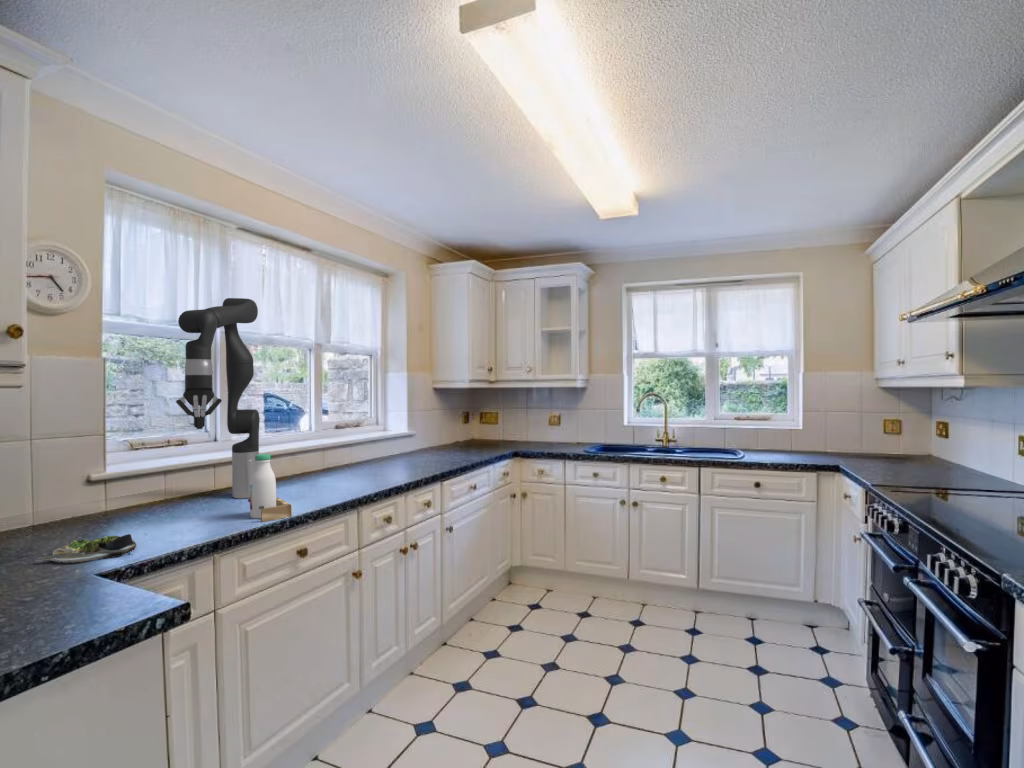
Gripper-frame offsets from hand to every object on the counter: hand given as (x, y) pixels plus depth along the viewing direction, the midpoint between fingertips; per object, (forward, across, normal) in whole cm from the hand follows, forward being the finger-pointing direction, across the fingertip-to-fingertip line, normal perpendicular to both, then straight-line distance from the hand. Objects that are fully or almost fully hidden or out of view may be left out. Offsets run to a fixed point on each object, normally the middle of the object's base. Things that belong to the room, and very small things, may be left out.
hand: (199, 428), depth 169 cm
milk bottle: (+29, -17, +8) cm, 35 cm away
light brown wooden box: (+29, -19, +8) cm, 35 cm away
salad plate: (+30, +26, +20) cm, 44 cm away
